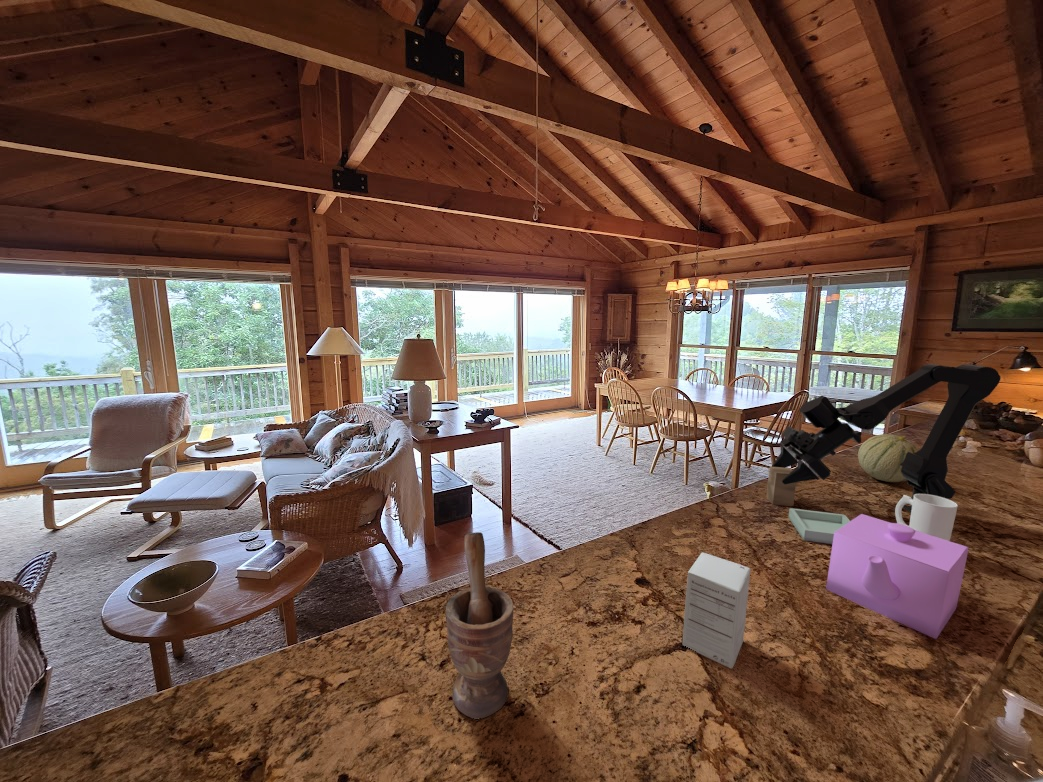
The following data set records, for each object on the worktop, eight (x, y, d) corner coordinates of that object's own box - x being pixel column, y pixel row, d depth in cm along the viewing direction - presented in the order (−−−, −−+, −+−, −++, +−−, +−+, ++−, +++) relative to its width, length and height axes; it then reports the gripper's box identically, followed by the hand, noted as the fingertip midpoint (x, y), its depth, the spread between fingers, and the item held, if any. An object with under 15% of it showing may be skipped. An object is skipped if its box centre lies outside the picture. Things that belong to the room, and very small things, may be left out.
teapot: (808, 604, 76) (819, 530, 73) (861, 559, 90) (871, 496, 87) (922, 660, 63) (939, 574, 61) (962, 598, 77) (977, 526, 75)
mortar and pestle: (430, 668, 61) (426, 539, 58) (484, 644, 66) (483, 523, 62) (464, 735, 51) (461, 585, 48) (525, 701, 56) (526, 562, 52)
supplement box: (695, 620, 71) (701, 550, 69) (744, 641, 67) (752, 567, 64) (680, 645, 66) (686, 570, 63) (732, 671, 61) (740, 591, 59)
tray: (788, 517, 108) (789, 508, 108) (843, 524, 105) (844, 514, 104) (803, 540, 97) (805, 530, 97) (865, 548, 94) (867, 538, 93)
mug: (955, 558, 90) (965, 505, 88) (934, 563, 88) (944, 509, 86) (901, 535, 100) (909, 486, 98) (881, 539, 98) (889, 490, 96)
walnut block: (766, 496, 120) (769, 466, 119) (785, 498, 119) (789, 467, 118) (772, 504, 116) (776, 472, 114) (793, 506, 115) (797, 474, 113)
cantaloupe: (854, 468, 144) (860, 425, 141) (912, 478, 135) (920, 432, 132) (856, 482, 132) (863, 435, 129) (920, 493, 123) (929, 443, 121)
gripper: (791, 410, 122) (745, 445, 126) (822, 426, 104) (767, 466, 108) (819, 438, 121) (772, 472, 125) (854, 460, 103) (798, 498, 107)
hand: (776, 476), depth 117 cm, fingers open, 9 cm apart
